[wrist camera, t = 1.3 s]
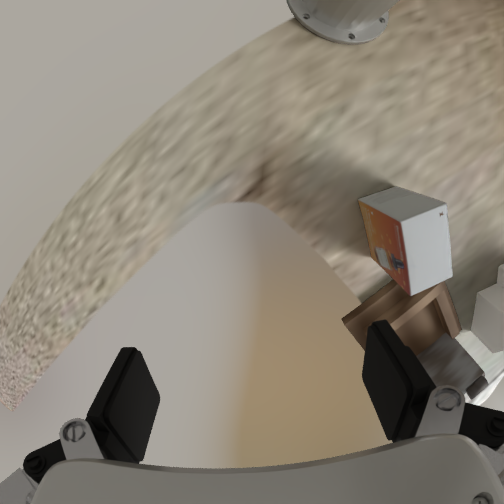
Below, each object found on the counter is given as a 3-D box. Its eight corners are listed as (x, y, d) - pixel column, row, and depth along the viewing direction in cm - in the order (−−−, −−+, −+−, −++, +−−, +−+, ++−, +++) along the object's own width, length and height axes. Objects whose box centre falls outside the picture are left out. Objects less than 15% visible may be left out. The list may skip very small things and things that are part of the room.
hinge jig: (427, 250, 34) (494, 298, 21) (457, 324, 39) (504, 375, 25) (341, 318, 37) (378, 394, 24) (387, 379, 42) (419, 442, 28)
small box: (356, 198, 32) (398, 219, 22) (396, 185, 31) (447, 201, 21) (370, 259, 34) (410, 298, 24) (407, 244, 34) (454, 277, 24)
